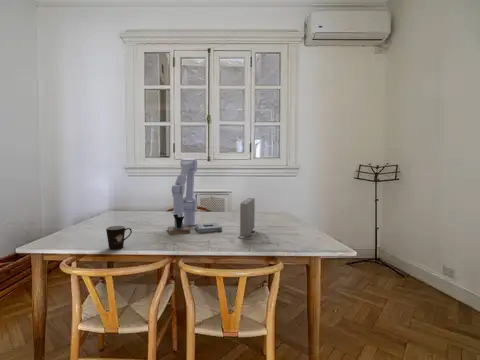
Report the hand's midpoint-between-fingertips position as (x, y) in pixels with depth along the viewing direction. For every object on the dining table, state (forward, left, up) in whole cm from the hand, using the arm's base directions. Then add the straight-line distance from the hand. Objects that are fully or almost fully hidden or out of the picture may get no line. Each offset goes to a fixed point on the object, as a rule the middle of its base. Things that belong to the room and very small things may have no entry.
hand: (178, 226), depth 181 cm
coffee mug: (+27, -31, -3) cm, 41 cm away
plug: (0, 0, -3) cm, 3 cm away
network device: (+20, +37, -3) cm, 42 cm away
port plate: (0, +18, -3) cm, 18 cm away
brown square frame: (0, 0, -3) cm, 3 cm away
